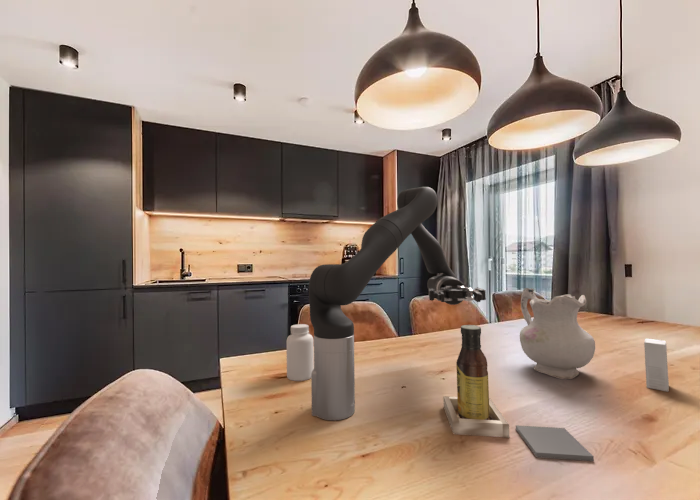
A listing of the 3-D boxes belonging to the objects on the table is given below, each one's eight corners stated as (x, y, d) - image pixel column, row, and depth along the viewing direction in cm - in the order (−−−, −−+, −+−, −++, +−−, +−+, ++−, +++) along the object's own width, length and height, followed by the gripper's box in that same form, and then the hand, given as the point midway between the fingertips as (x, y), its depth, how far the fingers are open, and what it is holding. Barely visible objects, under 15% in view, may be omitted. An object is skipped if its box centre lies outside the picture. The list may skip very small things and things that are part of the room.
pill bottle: (281, 377, 92) (281, 326, 93) (302, 370, 98) (302, 322, 99) (297, 384, 87) (297, 329, 88) (319, 376, 93) (319, 325, 93)
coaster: (536, 457, 54) (536, 452, 54) (515, 429, 62) (515, 425, 63) (593, 461, 52) (593, 456, 52) (564, 432, 61) (564, 428, 61)
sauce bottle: (464, 410, 70) (461, 322, 71) (493, 419, 66) (490, 325, 67) (453, 422, 65) (450, 326, 66) (484, 432, 61) (481, 330, 62)
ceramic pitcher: (501, 368, 101) (496, 292, 101) (535, 354, 111) (530, 284, 111) (577, 392, 83) (570, 298, 82) (609, 373, 92) (603, 289, 92)
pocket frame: (453, 434, 61) (452, 420, 61) (443, 407, 72) (443, 396, 72) (509, 437, 60) (509, 424, 60) (490, 409, 71) (490, 398, 71)
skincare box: (646, 381, 87) (644, 337, 87) (668, 385, 84) (666, 340, 84) (645, 387, 82) (643, 341, 83) (669, 392, 79) (666, 344, 80)
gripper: (425, 277, 94) (430, 283, 78) (475, 276, 92) (490, 282, 76) (426, 302, 94) (431, 313, 78) (475, 302, 92) (491, 313, 76)
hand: (460, 297), depth 77 cm, fingers open, 8 cm apart
